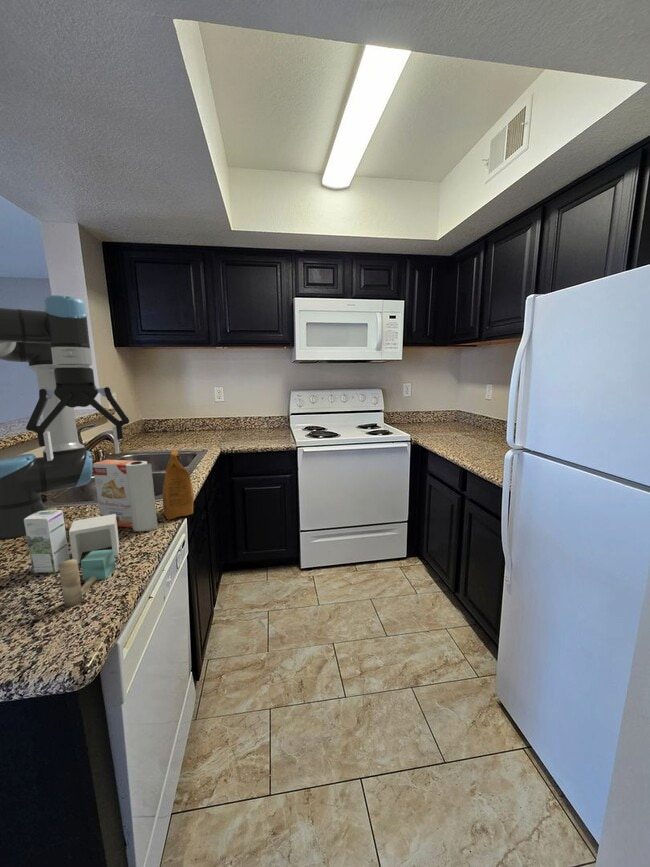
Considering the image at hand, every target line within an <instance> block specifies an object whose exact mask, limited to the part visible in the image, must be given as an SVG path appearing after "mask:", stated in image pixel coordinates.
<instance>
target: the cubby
mask: <svg viewBox="0 0 650 867" xmlns="http://www.w3.org/2000/svg"><path fill="white" fill-rule="evenodd" d="M118 529H119V528H118V526H117V520H116V514H112V515H106V516H100V515H99V516H95V517H90V518H89V517H88V518H83V519H77V520H73V521H72V523H71V526H70V528H69V530H68V535H69V542H70V549H71V557H72V559H75V560H77V562H78V565H79V564H81V560H82V555H83V553H88V552H92V551H98V550H103V549H107V548H110V547H111V550H114V557H116V556H119V553H120V552H119V551H120V550H119V549H120V539H119V538H120V537H119V530H118Z"/></svg>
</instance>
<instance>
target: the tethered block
mask: <svg viewBox="0 0 650 867" xmlns="http://www.w3.org/2000/svg"><path fill="white" fill-rule="evenodd" d="M80 566H81V571H82V572H81V573H82V579H83V581H84V582H85V581H86V582H85V583H84V584H83V585H81V584H82V583H81V577H80V572H79V571H80V570H79V564H78V562H77V560H75V559H73V558H72V559H71V558H70V560H67V561H64V562H62V563H60V564H59V571H58V572H59V578H60V583H61V589H62V590H61V591H62V596H63V605H64V606H65V607H66V608H72V607H75V606H78V605H79V604H81V602H83V600H84V599H83V598H84V597H83V596H84V594H86V592H87V591H88V590H89V589H90V588H91V587H92V586H93V585H94V584H95V582H96V581H98V580H101V581H102V580H106V579H108V578H109V576H110V575H111V574H112V573H113V572H114V571H115V569H116V560H115V556H114V550H112V549H97V550H92V551H89V552H88V554H86V555H85V557H84V558H83V559H81V560H80Z"/></svg>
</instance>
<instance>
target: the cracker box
mask: <svg viewBox="0 0 650 867" xmlns="http://www.w3.org/2000/svg"><path fill="white" fill-rule="evenodd" d="M136 461H137V460H123V459H104V460H101V461H97V462H94V463H92V470H93V475H94V482H95V489H96V495H97V502H98V508H99V517H100V516H106V515H112V514H116V520H117V527H120V528H121V527H122V528H131V529H133V524H132V515H131V507H130V498H129V489H128V481H127V472H126V464H127V463H130V462H136Z"/></svg>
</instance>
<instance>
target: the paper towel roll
mask: <svg viewBox="0 0 650 867" xmlns="http://www.w3.org/2000/svg"><path fill="white" fill-rule="evenodd" d="M135 461H136V462H130V463H127V464H126V472H127V481H128V489H129V498H130V507H131V515H132V524H133V528H132V530H133V531H134V532H145V531H146V532H147V531H150V530H157V529H158V528H159V527H158V518H157V517H158V516H157V508H156V500H155V491H154V490H155V488H154V480H153V470H152V463H148V461H147V460H135Z"/></svg>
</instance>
